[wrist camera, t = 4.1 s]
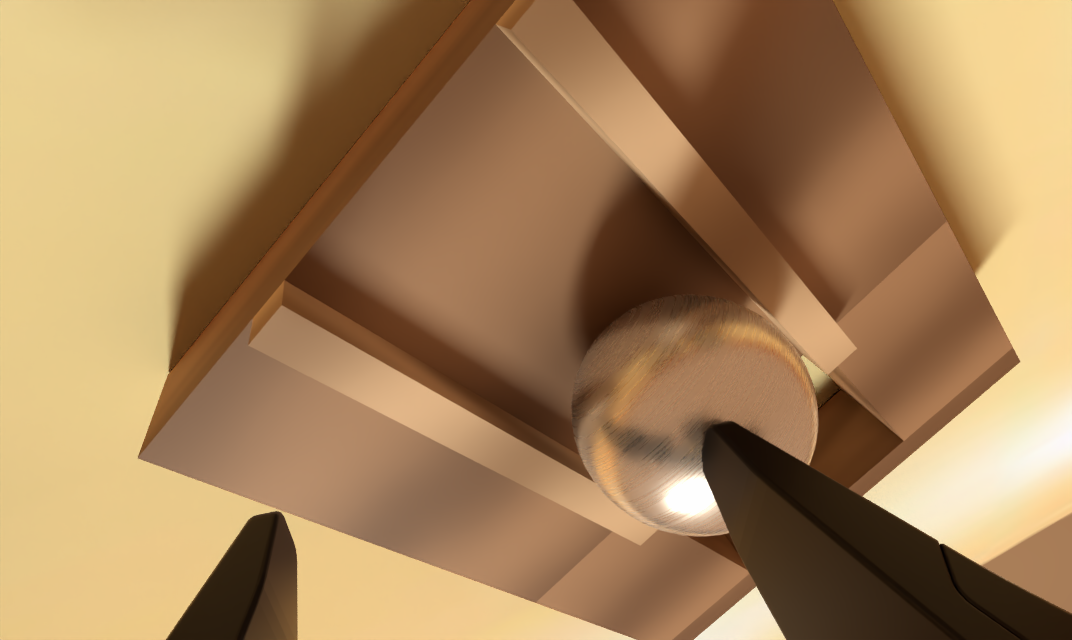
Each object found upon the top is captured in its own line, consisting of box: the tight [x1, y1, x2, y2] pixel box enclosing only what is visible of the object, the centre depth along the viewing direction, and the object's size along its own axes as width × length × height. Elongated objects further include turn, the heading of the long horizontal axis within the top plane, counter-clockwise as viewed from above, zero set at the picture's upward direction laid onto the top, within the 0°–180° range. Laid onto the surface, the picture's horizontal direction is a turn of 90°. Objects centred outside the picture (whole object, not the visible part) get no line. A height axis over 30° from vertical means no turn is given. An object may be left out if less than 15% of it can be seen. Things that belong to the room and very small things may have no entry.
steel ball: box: [571, 294, 818, 536], centre depth 13 cm, size 5×5×5 cm
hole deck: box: [138, 0, 1020, 640], centre depth 17 cm, size 20×16×4 cm
